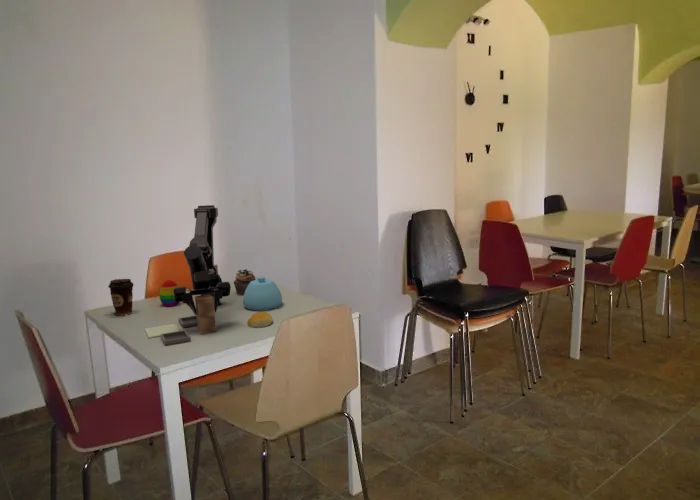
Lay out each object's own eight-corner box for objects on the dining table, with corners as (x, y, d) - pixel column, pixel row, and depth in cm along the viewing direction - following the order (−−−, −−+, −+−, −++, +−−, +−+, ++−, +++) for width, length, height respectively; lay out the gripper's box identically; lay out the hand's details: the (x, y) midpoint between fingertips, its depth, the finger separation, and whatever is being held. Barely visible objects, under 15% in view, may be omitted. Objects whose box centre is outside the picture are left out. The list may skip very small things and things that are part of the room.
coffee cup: (120, 318, 208) (116, 284, 206) (106, 315, 212) (102, 281, 210) (140, 311, 215) (137, 278, 213) (126, 309, 220) (123, 276, 217)
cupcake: (262, 292, 239) (260, 269, 237) (244, 297, 232) (242, 273, 230) (247, 288, 246) (246, 266, 244) (229, 293, 238) (228, 270, 237)
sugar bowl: (278, 299, 228) (276, 271, 226) (286, 308, 214) (284, 279, 212) (241, 303, 223) (239, 274, 221) (246, 313, 209) (244, 283, 207)
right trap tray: (201, 318, 205) (201, 314, 204) (206, 324, 197) (205, 320, 197) (178, 322, 201) (178, 318, 201) (182, 328, 194) (182, 324, 194)
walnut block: (212, 327, 194) (209, 294, 192) (216, 331, 189) (213, 297, 187) (197, 330, 192) (195, 296, 189) (201, 334, 187) (198, 299, 185)
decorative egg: (173, 308, 219) (170, 283, 217) (156, 306, 222) (153, 281, 220) (186, 302, 227) (183, 278, 225) (169, 301, 230) (167, 277, 228)
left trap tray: (185, 334, 188) (185, 329, 188) (190, 341, 181) (190, 336, 180) (161, 338, 184) (160, 334, 184) (164, 345, 177) (164, 341, 177)
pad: (174, 325, 198) (174, 323, 198) (179, 333, 189) (179, 331, 189) (144, 330, 193) (144, 328, 193) (148, 338, 185) (148, 337, 185)
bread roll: (244, 328, 193) (244, 317, 192) (253, 320, 202) (252, 309, 201) (267, 328, 192) (267, 317, 191) (275, 320, 200) (275, 310, 199)
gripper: (171, 264, 186) (177, 304, 178) (227, 258, 193) (235, 297, 185) (171, 282, 195) (176, 321, 187) (225, 276, 202) (233, 314, 194)
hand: (205, 313), depth 188 cm, fingers open, 6 cm apart
